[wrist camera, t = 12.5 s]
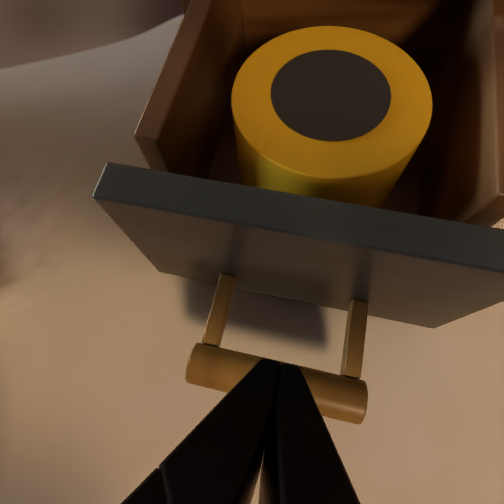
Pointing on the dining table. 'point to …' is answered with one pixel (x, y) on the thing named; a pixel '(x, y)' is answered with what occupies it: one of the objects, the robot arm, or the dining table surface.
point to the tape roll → (329, 114)
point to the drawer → (317, 209)
